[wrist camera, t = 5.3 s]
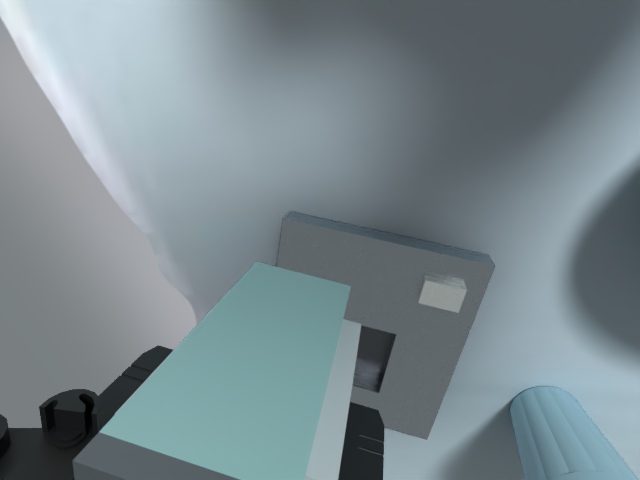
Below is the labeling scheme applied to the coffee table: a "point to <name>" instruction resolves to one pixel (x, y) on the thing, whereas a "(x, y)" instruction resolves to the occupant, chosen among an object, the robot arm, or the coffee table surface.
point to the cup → (562, 439)
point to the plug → (231, 389)
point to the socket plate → (394, 310)
